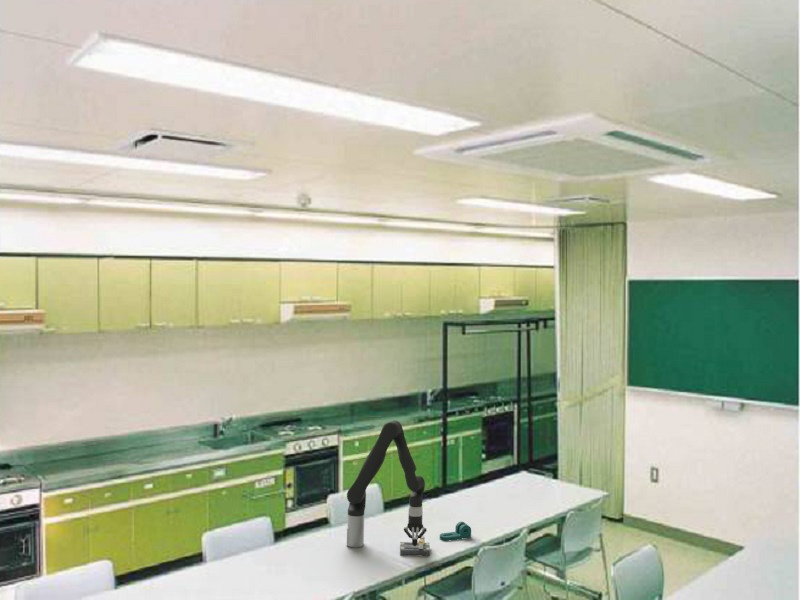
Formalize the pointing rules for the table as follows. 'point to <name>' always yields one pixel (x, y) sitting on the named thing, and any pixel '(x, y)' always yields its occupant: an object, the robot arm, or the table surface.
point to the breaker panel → (414, 549)
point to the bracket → (457, 532)
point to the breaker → (423, 539)
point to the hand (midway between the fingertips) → (414, 545)
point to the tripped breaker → (420, 544)
